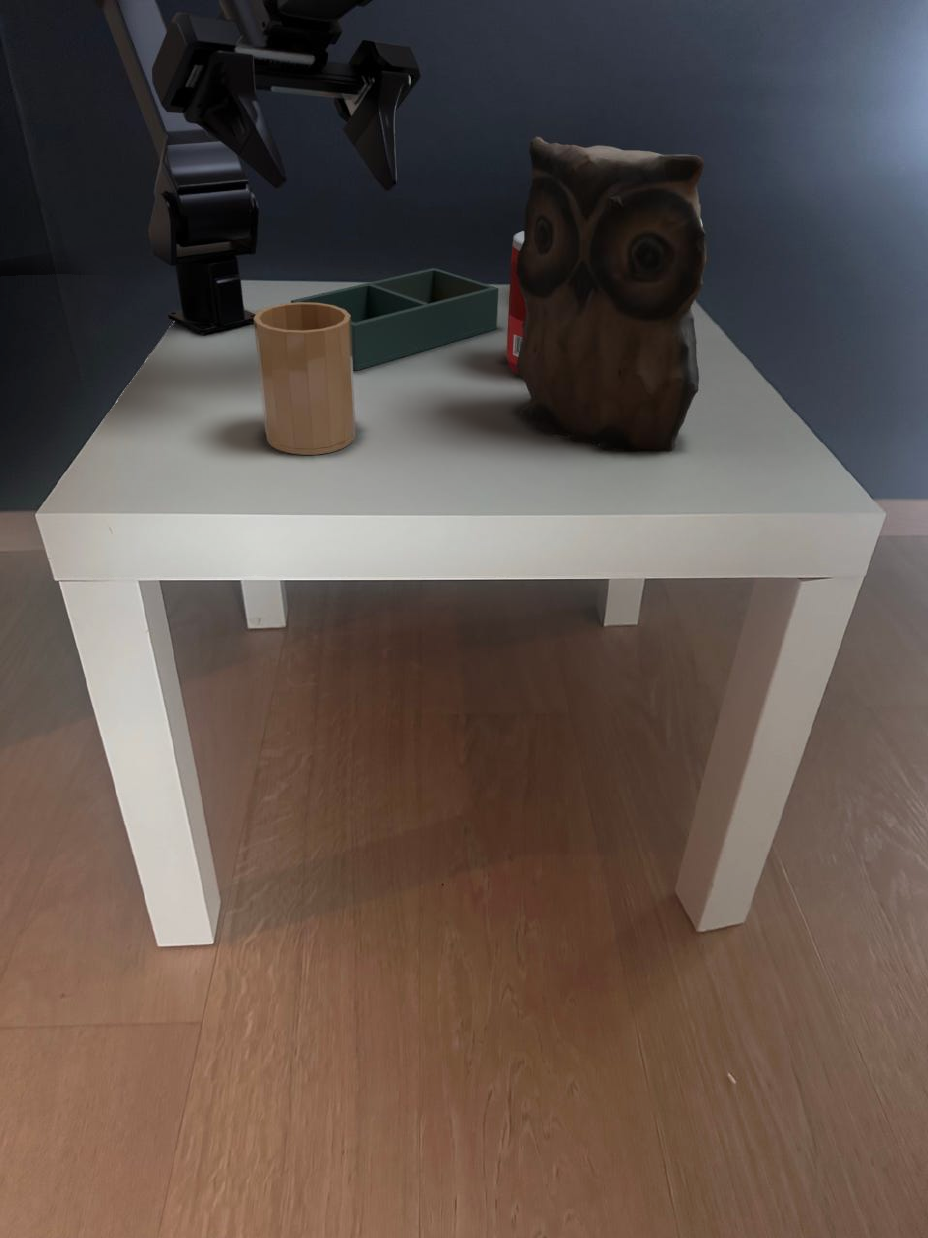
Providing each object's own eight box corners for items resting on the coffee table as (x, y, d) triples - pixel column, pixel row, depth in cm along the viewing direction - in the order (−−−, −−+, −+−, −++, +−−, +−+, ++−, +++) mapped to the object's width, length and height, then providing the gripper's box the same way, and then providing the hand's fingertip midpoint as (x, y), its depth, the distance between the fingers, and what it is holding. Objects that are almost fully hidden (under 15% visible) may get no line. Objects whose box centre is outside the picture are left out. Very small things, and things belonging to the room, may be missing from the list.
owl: (691, 457, 68) (747, 160, 57) (523, 459, 67) (545, 157, 56) (648, 392, 79) (688, 129, 67) (502, 393, 77) (516, 126, 66)
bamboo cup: (249, 434, 69) (235, 314, 64) (319, 411, 73) (312, 296, 68) (301, 463, 66) (291, 338, 60) (372, 438, 70) (369, 318, 64)
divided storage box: (293, 343, 86) (290, 300, 84) (433, 306, 96) (433, 267, 94) (355, 370, 81) (354, 325, 78) (496, 329, 91) (498, 287, 89)
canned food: (598, 384, 80) (614, 251, 73) (506, 381, 80) (514, 248, 73) (589, 353, 86) (603, 228, 80) (504, 350, 86) (511, 225, 80)
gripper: (165, -160, 52) (268, 90, 51) (418, -92, 63) (505, 113, 63) (112, -3, 60) (200, 213, 60) (343, 32, 72) (419, 213, 71)
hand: (339, 185), depth 63 cm, fingers open, 9 cm apart
